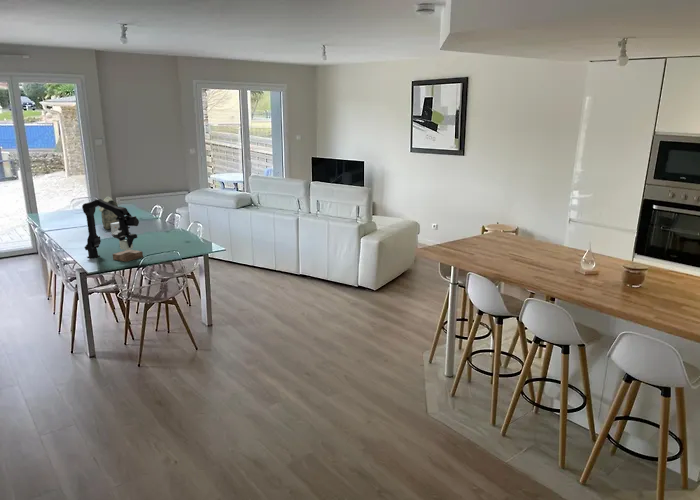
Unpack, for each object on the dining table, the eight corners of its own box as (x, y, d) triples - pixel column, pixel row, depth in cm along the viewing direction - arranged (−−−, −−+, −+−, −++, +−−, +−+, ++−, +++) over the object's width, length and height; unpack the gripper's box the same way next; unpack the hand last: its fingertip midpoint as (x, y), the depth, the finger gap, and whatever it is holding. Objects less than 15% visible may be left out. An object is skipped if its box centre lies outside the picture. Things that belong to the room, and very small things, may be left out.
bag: (100, 225, 472) (96, 196, 465) (119, 223, 480) (115, 195, 473) (103, 230, 454) (99, 200, 446) (123, 228, 462) (119, 198, 455)
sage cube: (120, 249, 361) (119, 240, 359) (127, 247, 366) (126, 239, 364) (126, 250, 358) (124, 241, 356) (133, 248, 363) (132, 239, 361)
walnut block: (113, 259, 361) (112, 253, 360) (129, 254, 373) (129, 249, 372) (126, 261, 354) (125, 256, 353) (143, 256, 366) (142, 251, 365)
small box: (120, 233, 440) (119, 221, 437) (124, 234, 437) (122, 222, 434) (111, 235, 434) (109, 223, 432) (114, 236, 431) (113, 224, 428)
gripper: (104, 226, 355) (108, 248, 359) (122, 229, 346) (125, 251, 350) (118, 223, 364) (121, 244, 368) (136, 226, 356) (139, 247, 360)
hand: (126, 247), depth 361 cm, fingers closed on sage cube, 6 cm apart
